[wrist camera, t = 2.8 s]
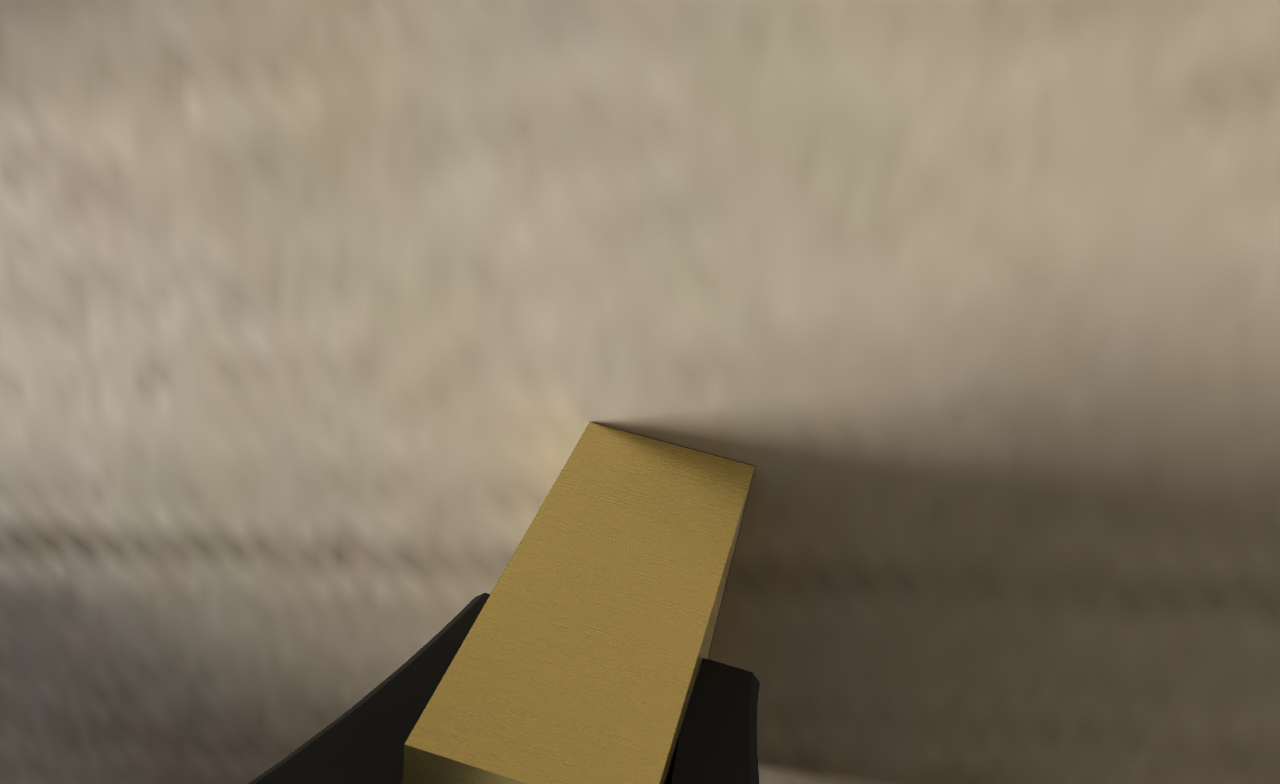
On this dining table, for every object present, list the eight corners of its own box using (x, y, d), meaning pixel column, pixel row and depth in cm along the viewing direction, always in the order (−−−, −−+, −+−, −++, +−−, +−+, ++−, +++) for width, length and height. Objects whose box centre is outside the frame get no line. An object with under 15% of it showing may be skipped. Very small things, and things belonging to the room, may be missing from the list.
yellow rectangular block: (589, 421, 13) (405, 743, 8) (754, 466, 12) (647, 822, 8) (548, 710, 15) (392, 1065, 11) (684, 752, 15) (575, 1133, 11)
